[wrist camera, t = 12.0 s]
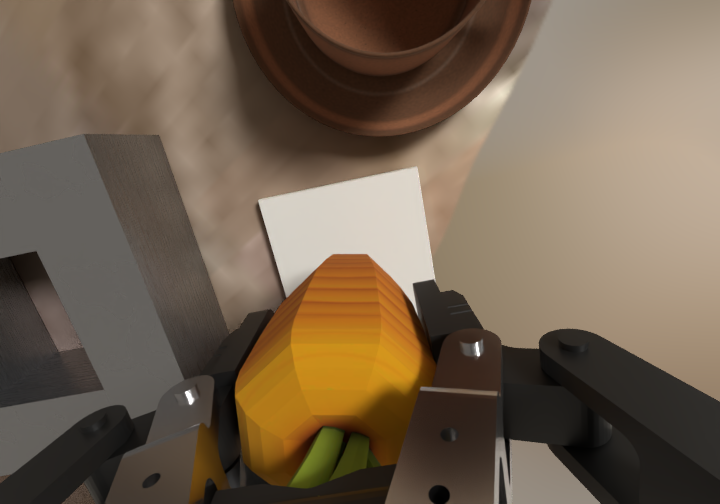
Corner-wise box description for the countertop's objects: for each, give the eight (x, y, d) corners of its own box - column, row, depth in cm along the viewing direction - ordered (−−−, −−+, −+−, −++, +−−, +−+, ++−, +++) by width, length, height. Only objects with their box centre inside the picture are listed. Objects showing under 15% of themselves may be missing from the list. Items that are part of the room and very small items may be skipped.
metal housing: (-96, 193, 19) (-252, 212, 14) (158, 134, 18) (83, 134, 13) (30, 412, 23) (-58, 485, 18) (243, 375, 22) (209, 442, 17)
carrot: (419, 239, 18) (650, 670, 3) (379, 324, 19) (422, 885, 5) (323, 200, 17) (119, 515, 3) (289, 291, 19) (37, 804, 4)
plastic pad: (260, 198, 19) (258, 200, 18) (415, 165, 18) (417, 166, 18) (300, 335, 21) (298, 339, 21) (439, 309, 20) (440, 314, 20)
